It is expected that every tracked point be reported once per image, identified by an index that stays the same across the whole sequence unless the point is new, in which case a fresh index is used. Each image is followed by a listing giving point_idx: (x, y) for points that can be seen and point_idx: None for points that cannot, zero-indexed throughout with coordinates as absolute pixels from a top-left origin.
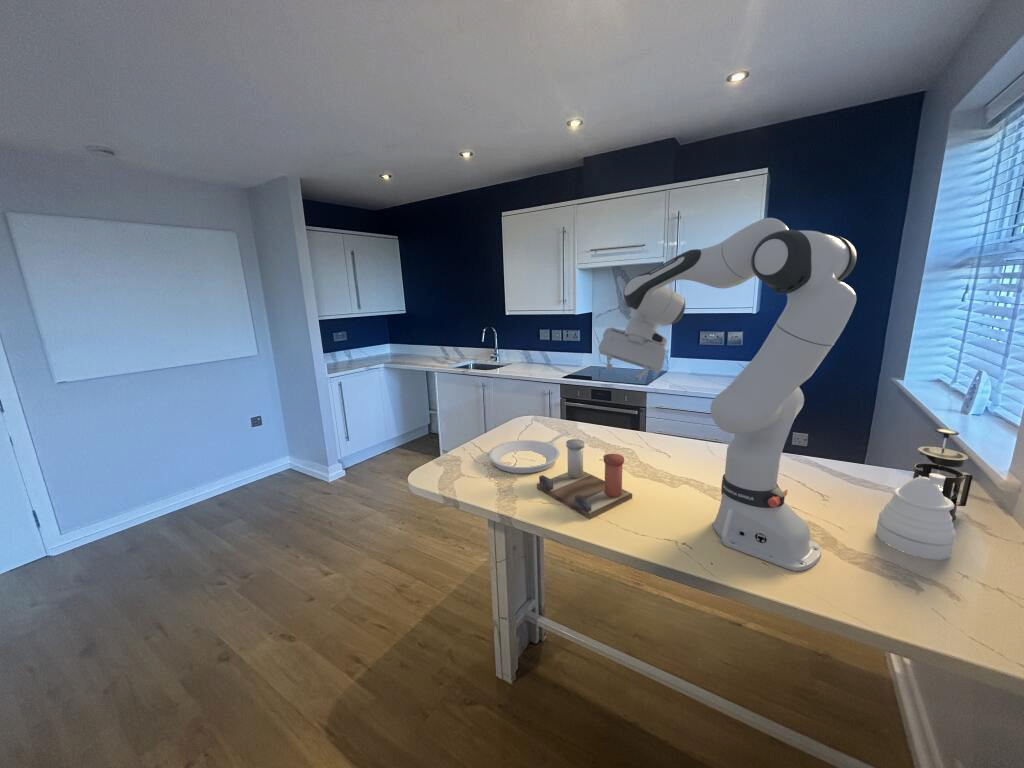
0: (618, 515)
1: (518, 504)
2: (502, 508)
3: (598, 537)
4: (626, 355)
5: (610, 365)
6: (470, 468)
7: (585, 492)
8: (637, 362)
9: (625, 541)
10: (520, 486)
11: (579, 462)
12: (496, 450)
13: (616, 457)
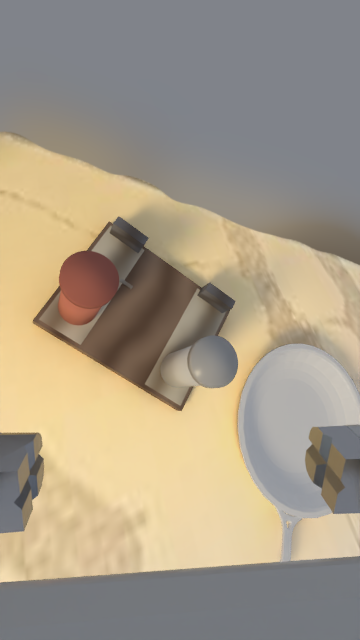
0: (56, 248)
1: (230, 250)
2: (245, 234)
3: (81, 178)
4: (316, 627)
5: (351, 448)
6: (351, 351)
7: (135, 299)
8: (20, 582)
9: (33, 171)
10: (253, 310)
11: (178, 352)
12: (357, 422)
13: (83, 280)
